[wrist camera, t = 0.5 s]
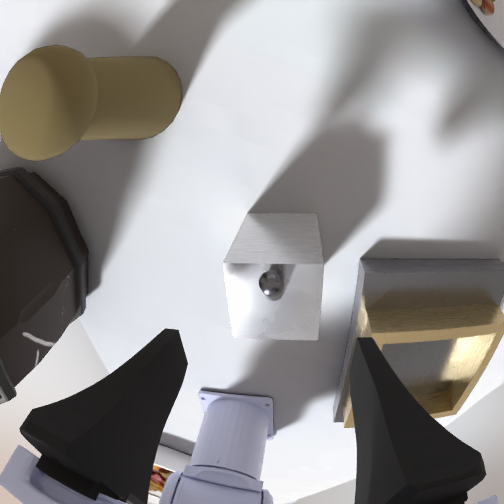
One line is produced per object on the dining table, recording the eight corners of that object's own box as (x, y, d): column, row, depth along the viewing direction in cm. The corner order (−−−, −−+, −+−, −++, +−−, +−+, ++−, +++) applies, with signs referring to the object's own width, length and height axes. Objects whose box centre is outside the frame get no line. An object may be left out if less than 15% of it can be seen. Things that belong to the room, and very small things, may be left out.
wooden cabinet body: (439, 398, 26) (448, 428, 22) (333, 407, 28) (333, 442, 24) (499, 259, 18) (526, 288, 14) (359, 258, 20) (372, 294, 16)
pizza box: (228, 447, 36) (217, 493, 29) (250, 499, 49) (245, 527, 42) (73, 410, 42) (54, 440, 35) (133, 474, 55) (123, 498, 48)
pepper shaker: (185, 53, 16) (73, 13, 6) (179, 139, 18) (67, 179, 9) (109, 61, 16) (-14, 56, 6) (106, 140, 19) (-14, 179, 9)
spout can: (314, 273, 21) (318, 360, 14) (251, 272, 22) (226, 356, 15) (316, 211, 19) (326, 280, 12) (247, 211, 20) (214, 278, 13)
